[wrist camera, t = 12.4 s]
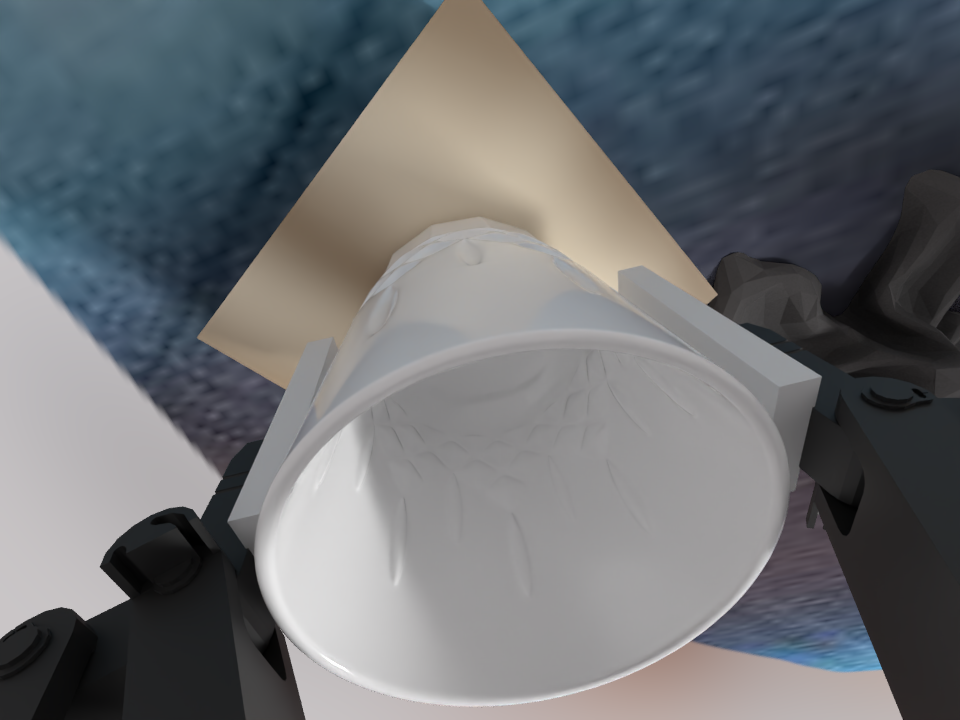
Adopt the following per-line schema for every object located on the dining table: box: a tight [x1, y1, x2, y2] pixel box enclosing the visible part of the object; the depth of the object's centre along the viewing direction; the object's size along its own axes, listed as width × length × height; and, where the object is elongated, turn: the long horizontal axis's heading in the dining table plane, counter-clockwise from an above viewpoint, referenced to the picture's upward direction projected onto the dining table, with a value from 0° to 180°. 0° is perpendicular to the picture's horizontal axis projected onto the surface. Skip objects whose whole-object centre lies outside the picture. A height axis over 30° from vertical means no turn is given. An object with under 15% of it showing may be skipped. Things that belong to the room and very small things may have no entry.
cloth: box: [709, 169, 960, 398], centre depth 24 cm, size 22×19×6 cm
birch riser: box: [197, 0, 718, 389], centre depth 18 cm, size 13×13×5 cm
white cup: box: [254, 217, 790, 707], centre depth 11 cm, size 8×8×10 cm
